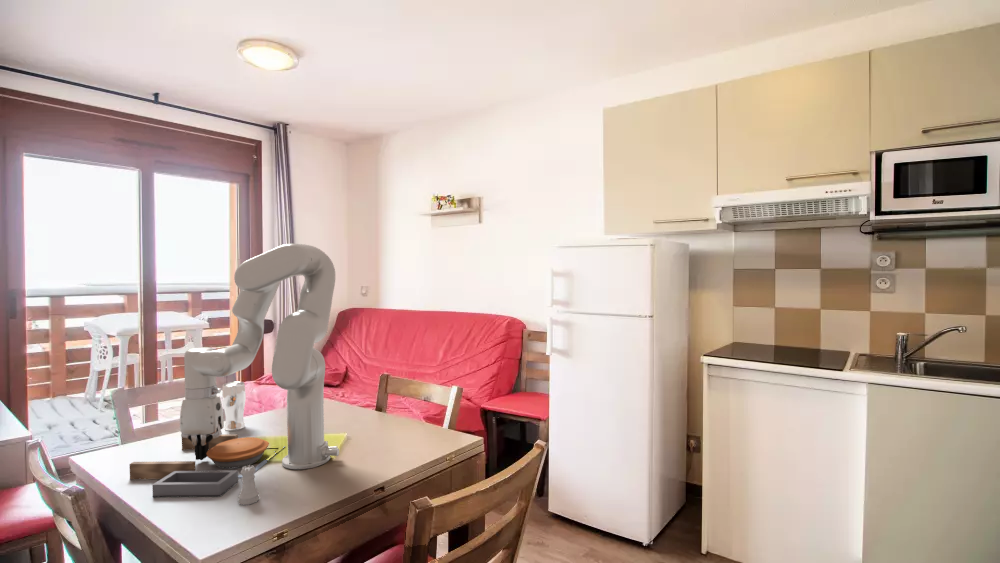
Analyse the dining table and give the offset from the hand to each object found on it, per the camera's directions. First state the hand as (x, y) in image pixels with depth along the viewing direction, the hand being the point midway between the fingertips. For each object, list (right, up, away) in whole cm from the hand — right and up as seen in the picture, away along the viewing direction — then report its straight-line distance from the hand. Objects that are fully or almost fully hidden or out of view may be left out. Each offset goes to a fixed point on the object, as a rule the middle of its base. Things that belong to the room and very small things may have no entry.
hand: (201, 457), depth 140 cm
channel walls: (-4, -1, 0) cm, 4 cm away
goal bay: (+10, -1, 0) cm, 10 cm away
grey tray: (+9, -2, -17) cm, 20 cm away
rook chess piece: (+25, -2, -24) cm, 35 cm away
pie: (+10, -1, +1) cm, 10 cm away
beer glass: (-7, -1, +30) cm, 31 cm away
